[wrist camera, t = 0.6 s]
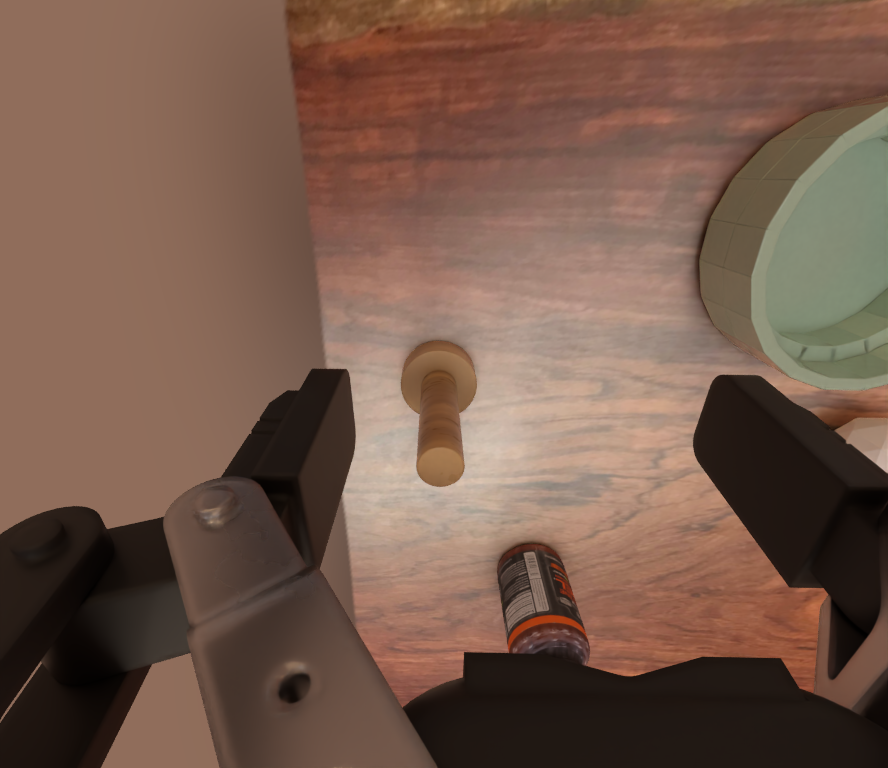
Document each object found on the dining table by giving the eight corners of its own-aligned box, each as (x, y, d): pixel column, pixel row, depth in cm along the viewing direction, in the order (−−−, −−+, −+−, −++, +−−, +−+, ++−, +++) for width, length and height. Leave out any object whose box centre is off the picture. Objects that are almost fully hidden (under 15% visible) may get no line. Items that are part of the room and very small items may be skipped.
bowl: (795, 55, 25) (894, 24, 20) (1004, 162, 28) (1142, 160, 22) (650, 312, 32) (695, 342, 26) (832, 381, 34) (908, 421, 29)
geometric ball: (793, 417, 38) (831, 416, 31) (919, 418, 35) (993, 418, 28) (797, 509, 38) (837, 531, 31) (926, 518, 35) (1004, 545, 27)
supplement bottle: (574, 570, 42) (619, 700, 31) (518, 598, 43) (544, 731, 33) (540, 529, 40) (577, 655, 29) (483, 560, 41) (499, 690, 31)
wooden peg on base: (415, 330, 32) (406, 409, 21) (485, 354, 33) (509, 440, 22) (393, 394, 34) (375, 493, 23) (459, 414, 35) (470, 519, 24)
